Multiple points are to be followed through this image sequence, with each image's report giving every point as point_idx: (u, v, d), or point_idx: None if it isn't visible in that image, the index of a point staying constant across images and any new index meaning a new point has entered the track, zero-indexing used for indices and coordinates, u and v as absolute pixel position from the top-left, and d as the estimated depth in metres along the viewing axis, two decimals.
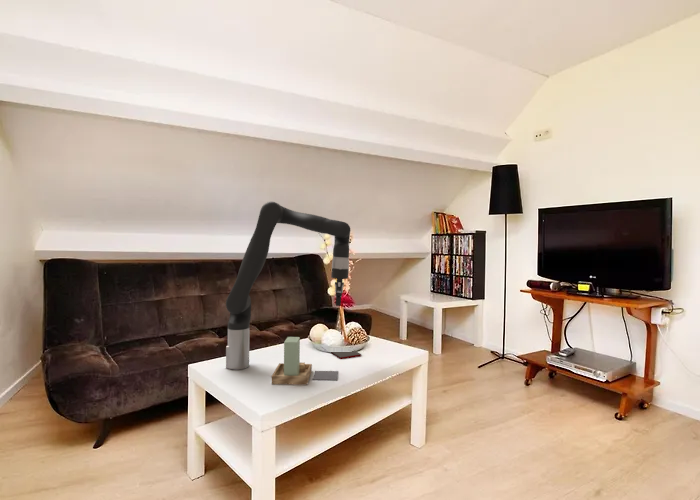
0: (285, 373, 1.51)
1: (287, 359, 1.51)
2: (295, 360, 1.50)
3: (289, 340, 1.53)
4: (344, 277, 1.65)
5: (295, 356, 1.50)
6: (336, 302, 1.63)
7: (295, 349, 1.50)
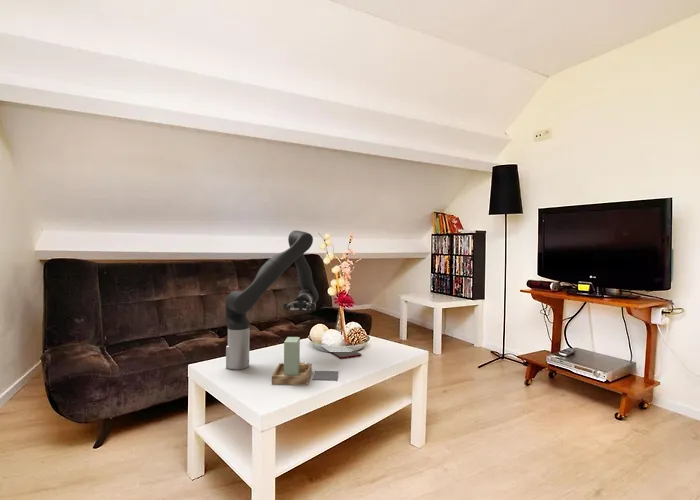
0: (285, 373, 1.51)
1: (287, 359, 1.51)
2: (295, 360, 1.50)
3: (289, 340, 1.53)
4: None
5: (295, 356, 1.50)
6: (308, 306, 1.69)
7: (295, 349, 1.50)
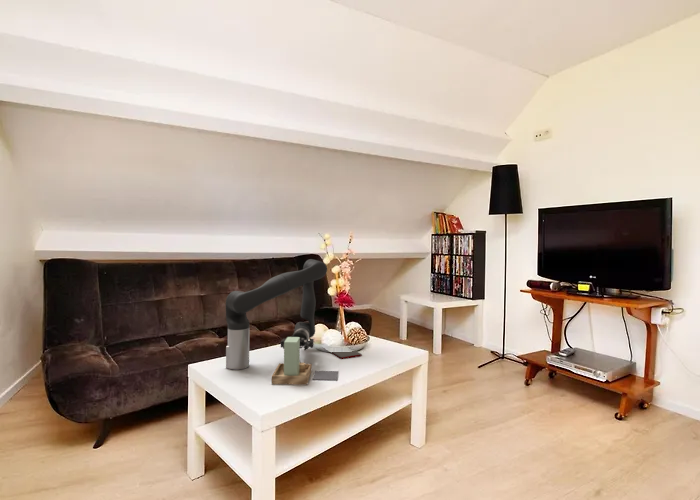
0: (285, 373, 1.51)
1: (287, 359, 1.51)
2: (295, 360, 1.50)
3: (289, 340, 1.53)
4: None
5: (295, 356, 1.50)
6: (306, 345, 1.64)
7: (295, 349, 1.50)
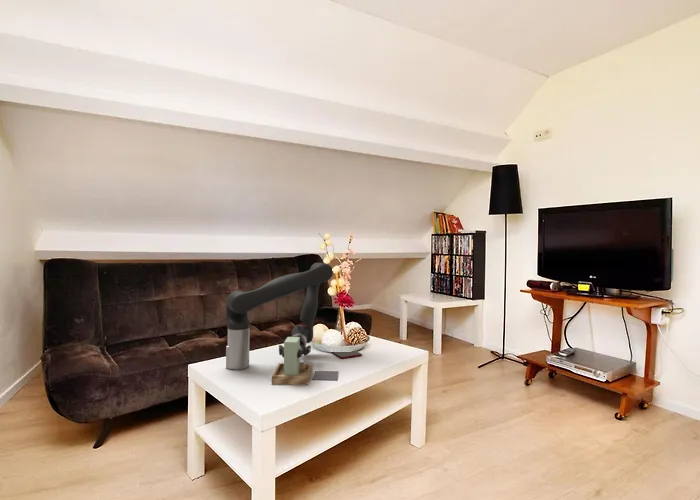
0: (285, 373, 1.51)
1: (287, 359, 1.51)
2: (295, 360, 1.50)
3: (289, 340, 1.53)
4: None
5: (295, 356, 1.50)
6: (299, 352, 1.53)
7: (295, 349, 1.50)
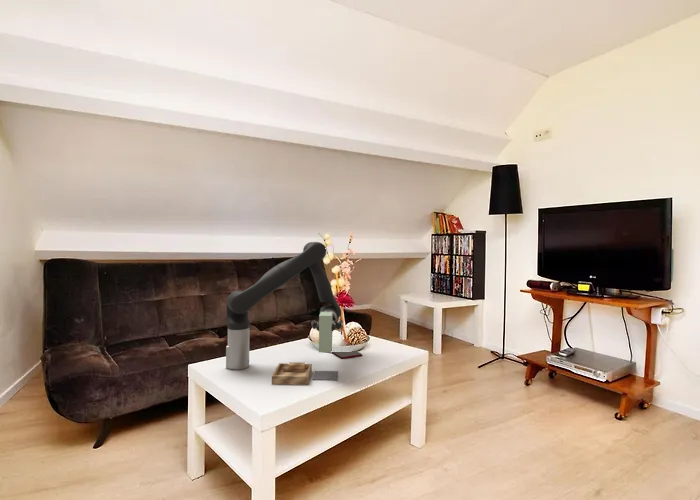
0: (320, 345, 1.55)
1: (322, 332, 1.55)
2: (330, 333, 1.55)
3: (323, 314, 1.57)
4: None
5: (330, 329, 1.54)
6: (333, 326, 1.57)
7: (330, 322, 1.54)
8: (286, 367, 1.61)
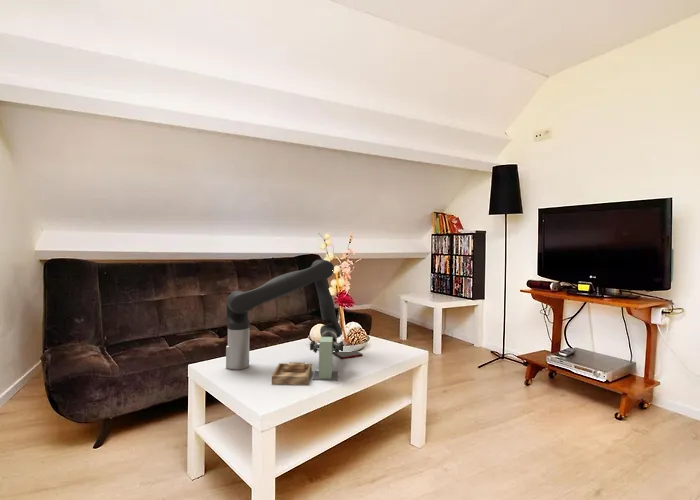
0: (320, 372, 1.55)
1: (322, 358, 1.55)
2: (330, 359, 1.55)
3: (323, 340, 1.57)
4: None
5: (330, 355, 1.55)
6: (337, 348, 1.58)
7: (330, 348, 1.55)
8: (286, 367, 1.61)
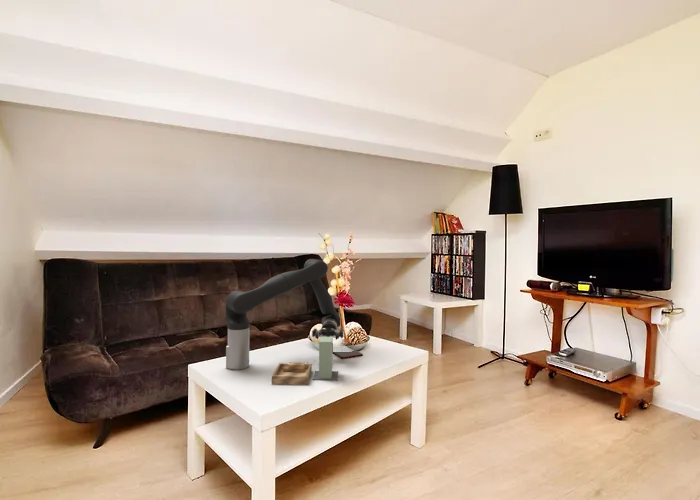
0: (320, 372, 1.55)
1: (322, 358, 1.55)
2: (330, 359, 1.55)
3: (323, 340, 1.57)
4: None
5: (330, 355, 1.55)
6: (337, 334, 1.71)
7: (330, 348, 1.55)
8: (286, 367, 1.61)
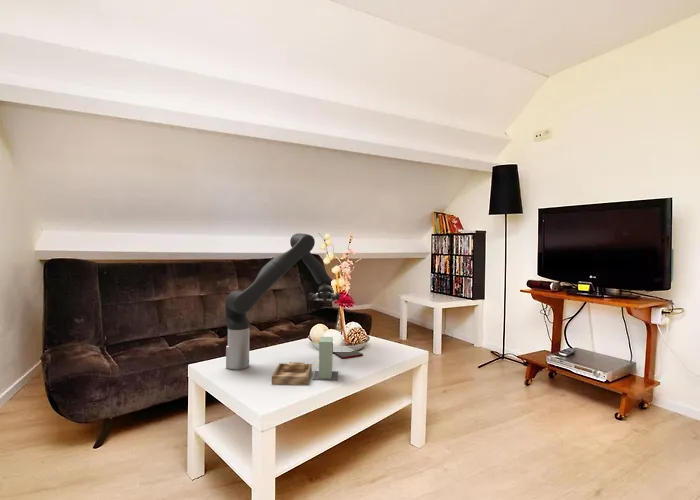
0: (320, 372, 1.55)
1: (322, 358, 1.55)
2: (330, 359, 1.55)
3: (323, 340, 1.57)
4: None
5: (330, 355, 1.55)
6: (333, 296, 1.73)
7: (330, 348, 1.55)
8: (286, 367, 1.61)
